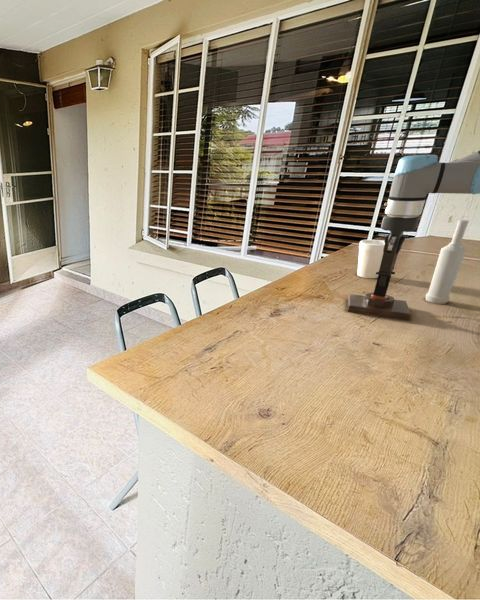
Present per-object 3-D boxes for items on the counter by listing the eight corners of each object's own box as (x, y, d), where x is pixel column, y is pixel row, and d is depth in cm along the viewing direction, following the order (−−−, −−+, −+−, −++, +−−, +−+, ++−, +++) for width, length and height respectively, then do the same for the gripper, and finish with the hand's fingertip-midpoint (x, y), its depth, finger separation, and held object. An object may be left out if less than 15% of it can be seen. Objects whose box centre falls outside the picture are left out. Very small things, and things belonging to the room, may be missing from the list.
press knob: (385, 301, 106) (387, 294, 105) (387, 305, 103) (388, 299, 102) (369, 298, 108) (370, 292, 107) (369, 303, 105) (371, 297, 104)
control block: (404, 306, 107) (407, 294, 105) (409, 320, 98) (413, 307, 97) (347, 299, 114) (350, 287, 113) (347, 311, 106) (350, 299, 105)
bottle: (429, 303, 108) (456, 221, 99) (421, 297, 112) (447, 218, 103) (451, 304, 106) (481, 221, 97) (442, 298, 110) (470, 218, 101)
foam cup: (352, 277, 133) (360, 244, 128) (352, 270, 140) (359, 238, 135) (384, 280, 127) (394, 246, 123) (382, 273, 134) (391, 240, 130)
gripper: (388, 211, 103) (368, 286, 111) (379, 218, 95) (358, 298, 103) (422, 213, 97) (399, 291, 106) (417, 220, 89) (391, 304, 98)
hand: (379, 295), depth 105 cm, fingers closed
